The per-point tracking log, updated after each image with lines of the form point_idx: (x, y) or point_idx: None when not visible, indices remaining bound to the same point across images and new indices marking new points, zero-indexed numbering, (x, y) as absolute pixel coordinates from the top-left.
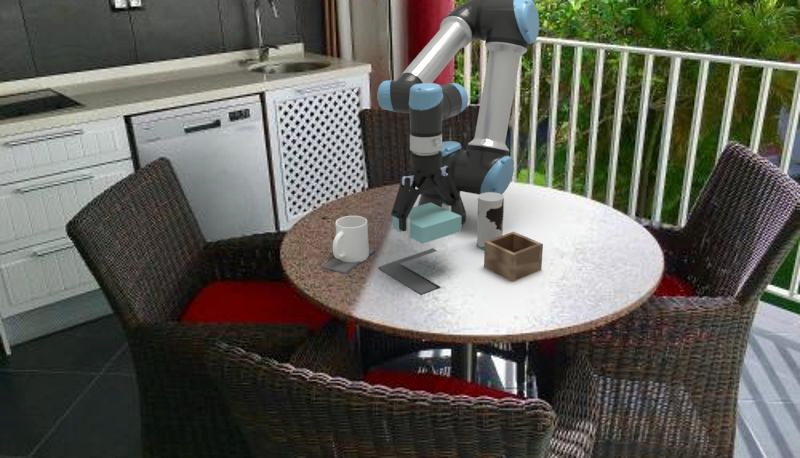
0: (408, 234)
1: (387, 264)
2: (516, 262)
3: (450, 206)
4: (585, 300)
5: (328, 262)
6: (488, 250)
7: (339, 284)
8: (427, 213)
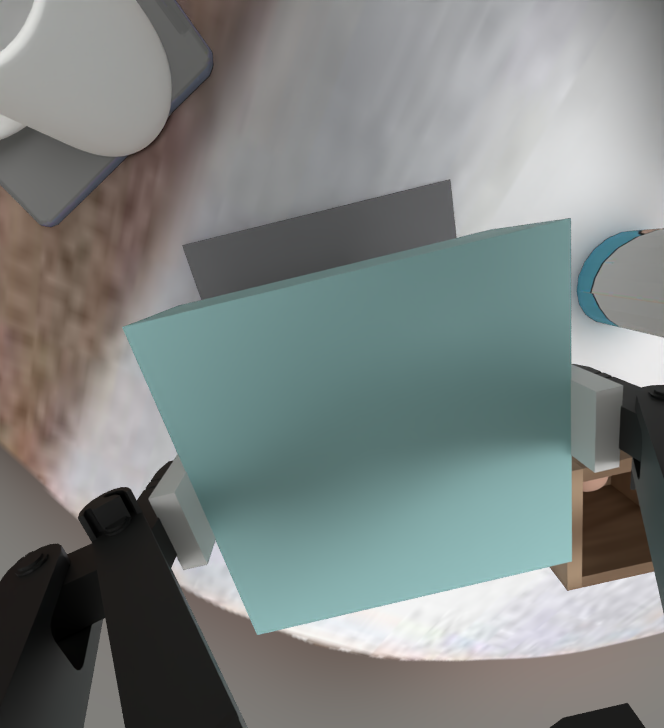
0: None
1: (224, 241)
2: None
3: (611, 468)
4: (585, 607)
5: None
6: None
7: (18, 305)
8: (403, 445)
